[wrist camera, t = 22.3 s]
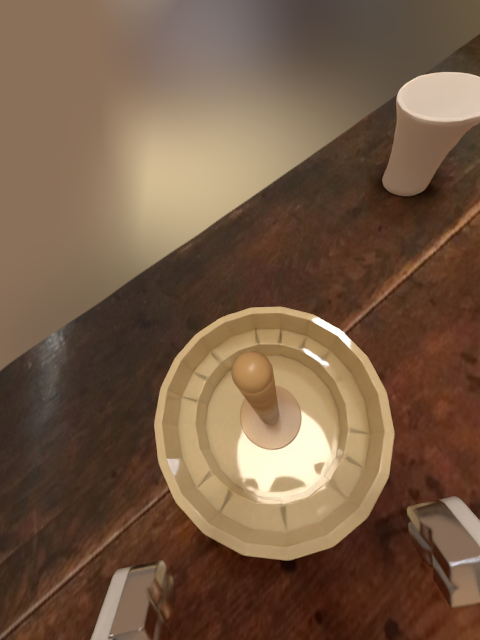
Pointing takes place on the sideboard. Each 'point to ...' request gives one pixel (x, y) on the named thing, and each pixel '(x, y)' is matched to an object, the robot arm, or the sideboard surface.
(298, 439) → the mixing bowl
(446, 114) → the cup
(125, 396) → the sideboard surface
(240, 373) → the wooden dowel stand
